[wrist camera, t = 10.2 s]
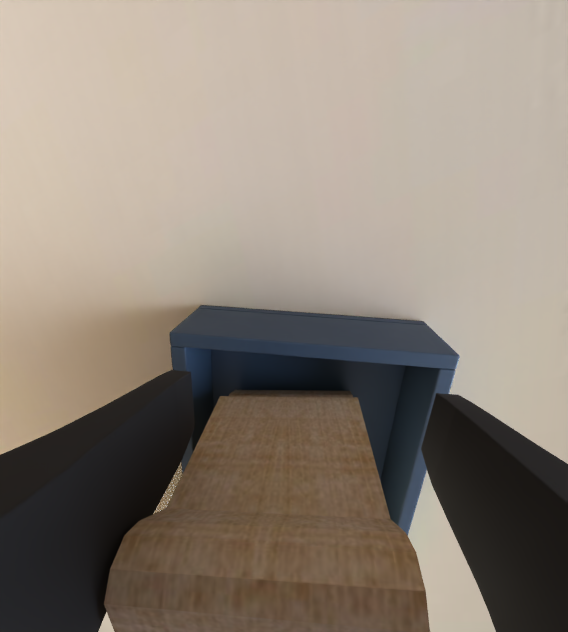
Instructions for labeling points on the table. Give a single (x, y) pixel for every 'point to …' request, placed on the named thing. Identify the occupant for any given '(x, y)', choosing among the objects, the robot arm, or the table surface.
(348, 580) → the toy train
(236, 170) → the table surface
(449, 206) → the table surface
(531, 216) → the table surface
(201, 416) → the open box
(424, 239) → the table surface
